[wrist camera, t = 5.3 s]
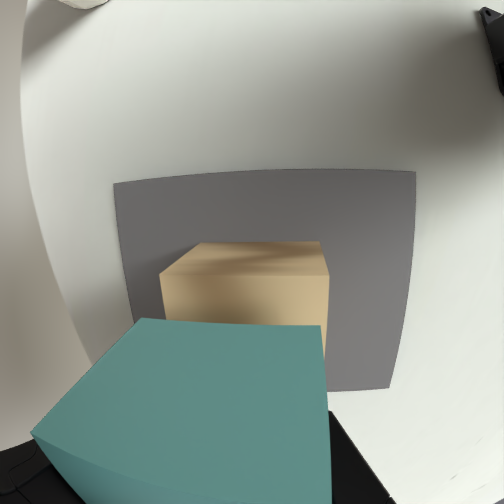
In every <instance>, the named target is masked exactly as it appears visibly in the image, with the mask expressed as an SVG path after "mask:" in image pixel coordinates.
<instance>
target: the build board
mask: <svg viewBox="0 0 504 504" xmlns="http://www.w3.org/2000/svg"><path fill="white" fill-rule="evenodd" d="M113 185H114V197H115V207H116V217H117V225H118V233H119V241H120V248H121V255H122V261H123V268H124V274H125V279H126V285H127V290H128V295H129V301H130V305H131V310H132V315H133V320H134V324H135V323H136V322H137V321H138V320H139V319H140V318H151V319H162V320H166V314H165V308H164V303H163V296H162V290H161V283H160V277H159V274H160V273H162V272H163V271H164V270H165V269H167V268H168V267H169V266H171V265H172V264H173V263H174V262H176V261H177V260H178V259H180V258H181V257H182V256H184V255H185V254H186V253H187V252H189V251H190V250H191V249H193V248H194V247H195V246H197V245H198V244H199V243H210V242H287V241H319V242H320V245H321V248H322V252H323V255H324V258H325V262H326V265H327V269H328V272H329V298H328V316H327V331H326V345H325V357H324V364H325V376H326V388H327V392H338V391H359V390H373V389H385V388H389V386H390V382H391V378H392V374H393V370H394V366H395V362H396V358H397V353H398V348H399V344H400V339H401V333H402V328H403V323H404V317H405V311H406V304H407V298H408V291H409V283H410V275H411V266H412V255H413V243H414V228H415V204H416V172H410V171H391V170H365V169H282V170H255V171H236V172H220V173H206V174H194V175H183V176H173V177H163V178H154V179H145V180H137V181H129V182H122V183H115V184H113Z"/></svg>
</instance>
